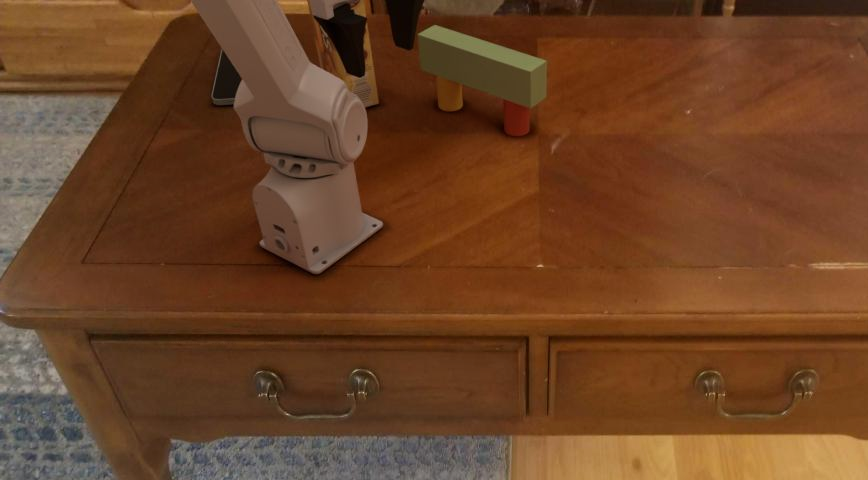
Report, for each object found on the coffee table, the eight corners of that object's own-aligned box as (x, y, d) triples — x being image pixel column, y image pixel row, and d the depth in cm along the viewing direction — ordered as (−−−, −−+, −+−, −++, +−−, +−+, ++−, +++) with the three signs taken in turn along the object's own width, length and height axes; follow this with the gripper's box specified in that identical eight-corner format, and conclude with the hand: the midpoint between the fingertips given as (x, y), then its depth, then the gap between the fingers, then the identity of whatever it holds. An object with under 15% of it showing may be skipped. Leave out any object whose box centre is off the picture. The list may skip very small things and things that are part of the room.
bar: (420, 70, 101) (417, 34, 98) (437, 60, 103) (434, 24, 100) (530, 108, 94) (530, 71, 91) (546, 97, 96) (547, 60, 93)
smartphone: (209, 100, 102) (222, 44, 113) (211, 107, 103) (224, 50, 113) (272, 95, 103) (279, 40, 114) (274, 102, 104) (280, 46, 114)
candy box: (381, 104, 104) (364, -20, 93) (348, 114, 102) (328, -12, 91) (351, 75, 109) (332, -45, 99) (320, 84, 107) (298, -38, 97)
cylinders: (520, 139, 98) (519, 104, 95) (433, 107, 103) (430, 73, 100) (534, 128, 100) (534, 93, 97) (448, 97, 105) (446, 63, 102)
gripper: (339, -41, 75) (361, 98, 84) (443, -85, 84) (452, 45, 93) (283, -57, 77) (310, 78, 87) (390, -98, 86) (403, 29, 96)
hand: (380, 60), depth 90 cm, fingers open, 7 cm apart
